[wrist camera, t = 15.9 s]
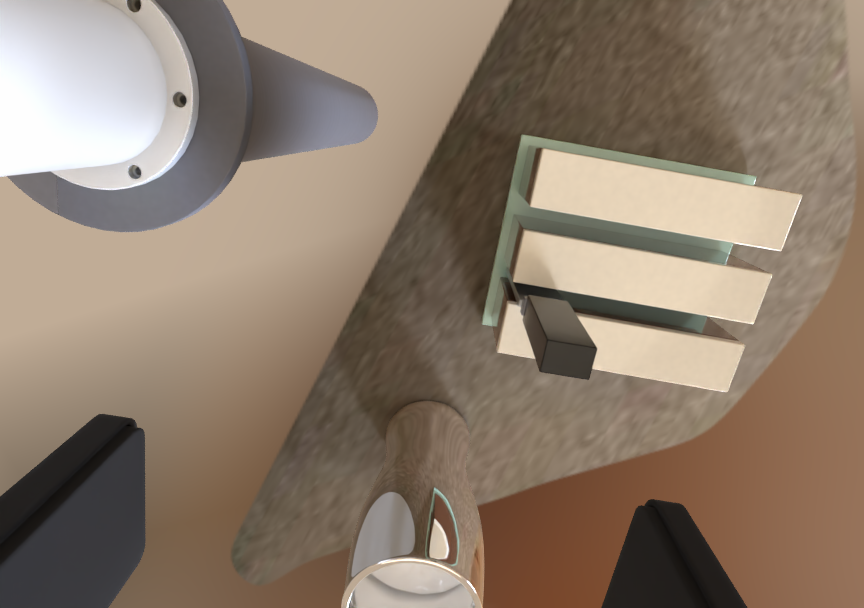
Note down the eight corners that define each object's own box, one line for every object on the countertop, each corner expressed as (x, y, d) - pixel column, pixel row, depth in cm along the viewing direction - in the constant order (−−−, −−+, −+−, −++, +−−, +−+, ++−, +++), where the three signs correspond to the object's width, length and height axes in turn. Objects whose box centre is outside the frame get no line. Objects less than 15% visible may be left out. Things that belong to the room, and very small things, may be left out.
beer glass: (411, 376, 38) (384, 529, 23) (495, 425, 38) (518, 600, 24) (362, 449, 40) (309, 631, 25) (443, 494, 40) (436, 693, 26)
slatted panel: (481, 320, 36) (485, 359, 30) (520, 134, 32) (535, 135, 26) (687, 356, 36) (733, 402, 30) (750, 175, 33) (817, 186, 26)
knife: (504, 279, 34) (533, 371, 21) (508, 258, 34) (540, 338, 21) (543, 285, 34) (595, 381, 21) (548, 264, 34) (604, 349, 21)
